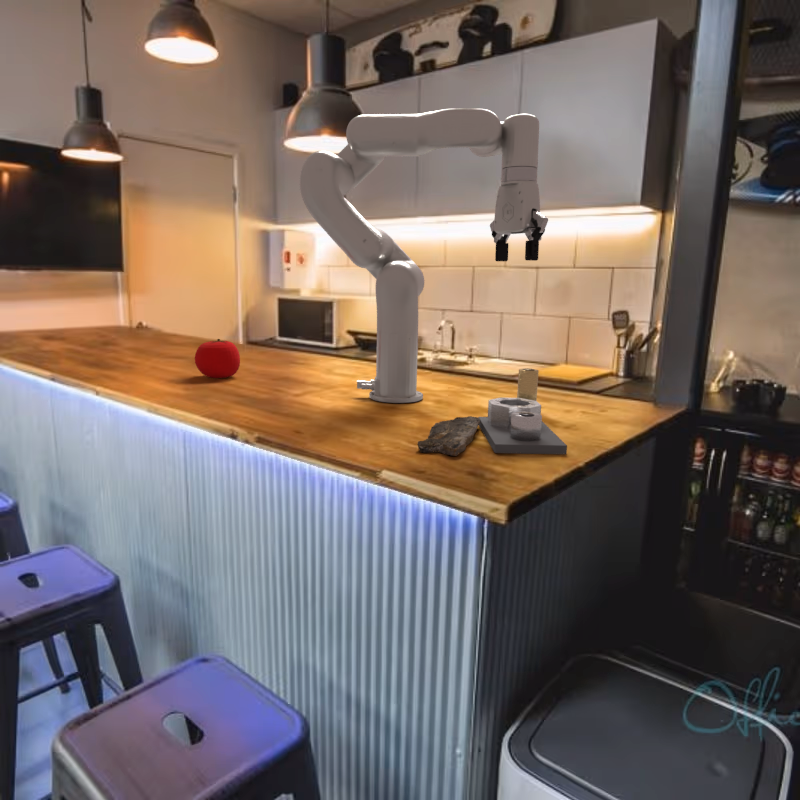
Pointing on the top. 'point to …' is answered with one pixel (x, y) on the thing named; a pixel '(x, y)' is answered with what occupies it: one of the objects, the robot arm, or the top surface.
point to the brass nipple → (527, 384)
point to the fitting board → (506, 444)
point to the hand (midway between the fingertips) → (516, 260)
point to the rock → (450, 436)
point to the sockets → (516, 417)
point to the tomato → (217, 359)
